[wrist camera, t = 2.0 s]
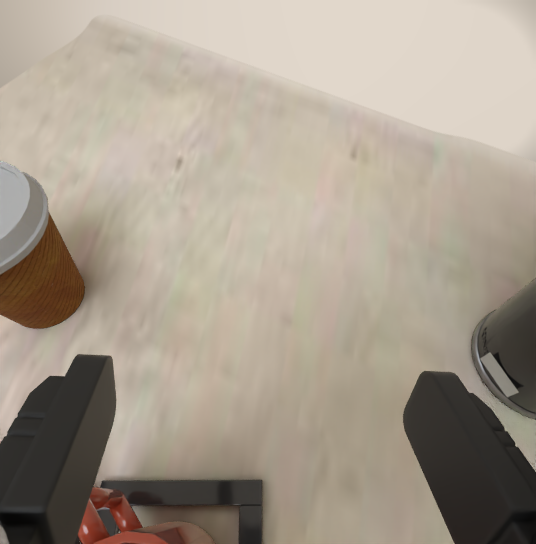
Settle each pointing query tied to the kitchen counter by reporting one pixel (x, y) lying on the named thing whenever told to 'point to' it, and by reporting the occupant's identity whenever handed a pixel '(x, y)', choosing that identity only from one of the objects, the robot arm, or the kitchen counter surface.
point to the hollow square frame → (195, 500)
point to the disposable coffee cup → (33, 256)
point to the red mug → (132, 524)
